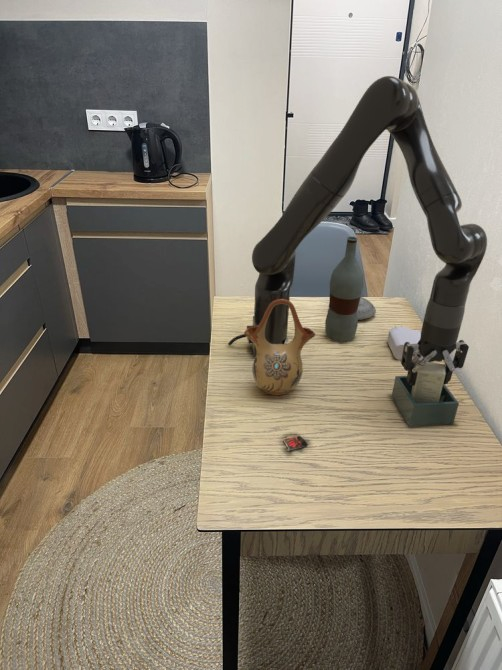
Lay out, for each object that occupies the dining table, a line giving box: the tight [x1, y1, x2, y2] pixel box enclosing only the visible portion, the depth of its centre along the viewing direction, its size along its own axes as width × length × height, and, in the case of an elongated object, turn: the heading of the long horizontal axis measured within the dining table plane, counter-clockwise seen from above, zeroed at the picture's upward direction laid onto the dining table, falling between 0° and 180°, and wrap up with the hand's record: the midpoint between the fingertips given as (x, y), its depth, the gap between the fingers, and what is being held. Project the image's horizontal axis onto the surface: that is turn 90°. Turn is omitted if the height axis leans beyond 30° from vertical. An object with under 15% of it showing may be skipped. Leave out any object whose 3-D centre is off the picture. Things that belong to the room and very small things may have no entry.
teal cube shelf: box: [391, 375, 460, 428], centre depth 115 cm, size 10×11×6 cm
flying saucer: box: [357, 296, 377, 321], centre depth 159 cm, size 15×15×6 cm
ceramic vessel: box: [243, 299, 316, 396], centre depth 116 cm, size 16×9×25 cm, turn 90°
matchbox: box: [282, 433, 309, 453], centre depth 105 cm, size 5×5×1 cm
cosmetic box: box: [411, 361, 446, 403], centre depth 114 cm, size 6×4×12 cm
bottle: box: [324, 236, 364, 344], centre depth 139 cm, size 9×9×30 cm
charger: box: [386, 325, 423, 361], centre depth 141 cm, size 5×9×15 cm
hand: (427, 382), depth 113 cm, fingers closed on cosmetic box, 7 cm apart
